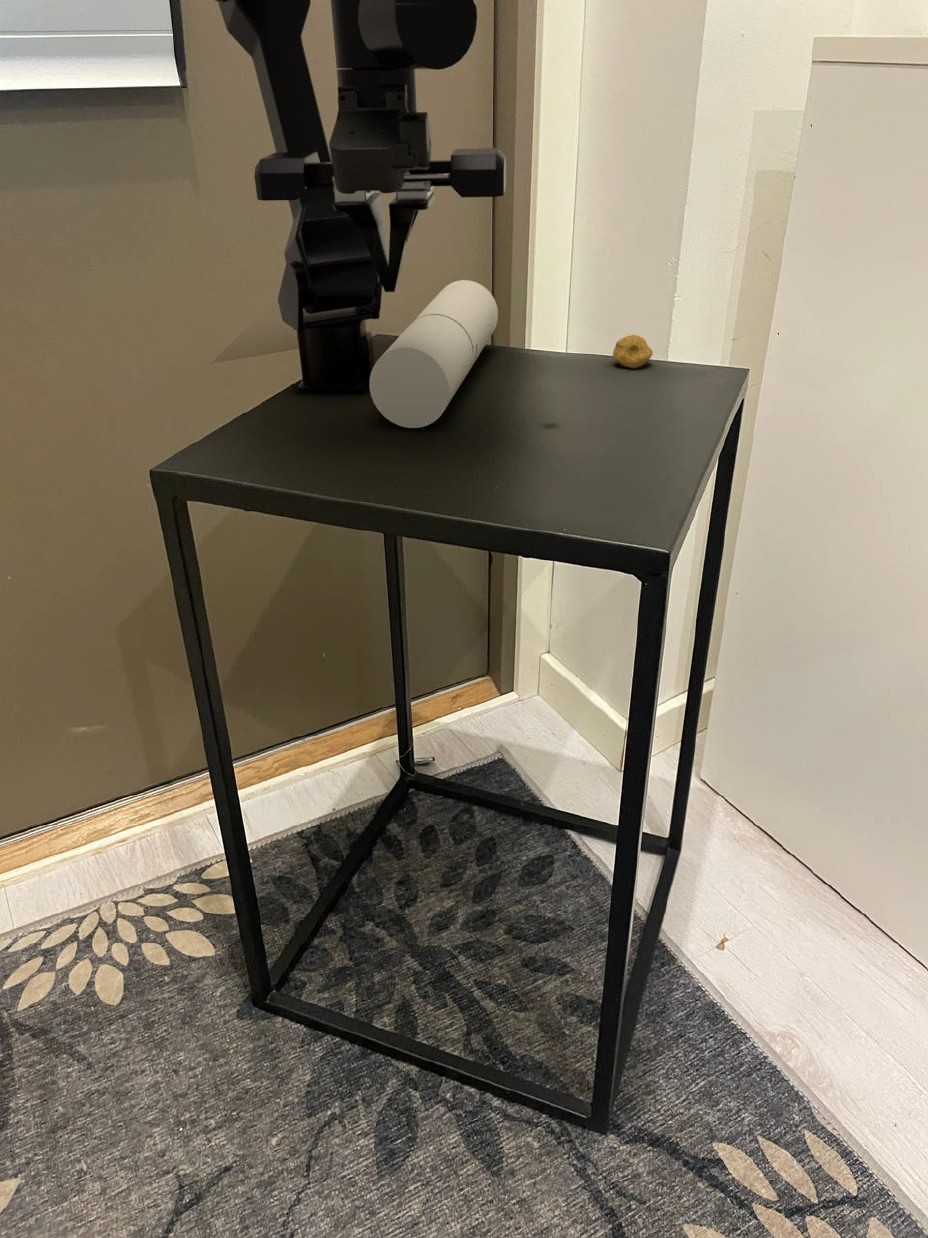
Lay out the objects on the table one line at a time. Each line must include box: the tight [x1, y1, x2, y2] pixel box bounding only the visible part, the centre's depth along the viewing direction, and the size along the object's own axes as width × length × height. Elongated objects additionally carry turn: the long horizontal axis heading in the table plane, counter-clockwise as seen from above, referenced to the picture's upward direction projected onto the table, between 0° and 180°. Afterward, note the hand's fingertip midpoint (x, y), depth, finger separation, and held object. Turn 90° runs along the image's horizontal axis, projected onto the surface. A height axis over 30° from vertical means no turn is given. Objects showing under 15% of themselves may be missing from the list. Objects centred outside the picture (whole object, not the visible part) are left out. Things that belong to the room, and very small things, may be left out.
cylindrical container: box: [368, 279, 499, 429], centre depth 90 cm, size 7×7×25 cm
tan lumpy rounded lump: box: [612, 334, 654, 369], centre depth 95 cm, size 4×4×3 cm
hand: (390, 291), depth 75 cm, fingers closed
